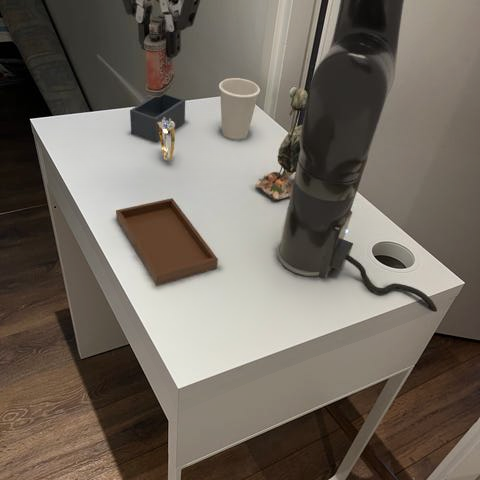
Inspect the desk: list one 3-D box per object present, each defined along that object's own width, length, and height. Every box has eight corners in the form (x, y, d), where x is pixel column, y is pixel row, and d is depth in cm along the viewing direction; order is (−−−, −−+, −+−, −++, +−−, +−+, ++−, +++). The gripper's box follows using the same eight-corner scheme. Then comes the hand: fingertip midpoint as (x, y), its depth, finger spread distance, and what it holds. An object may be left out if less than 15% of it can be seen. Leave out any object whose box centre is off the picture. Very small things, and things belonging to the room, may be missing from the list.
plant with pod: (316, 190, 97) (343, 86, 82) (270, 205, 92) (290, 96, 77) (291, 169, 101) (312, 66, 86) (245, 182, 96) (259, 75, 81)
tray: (216, 268, 79) (217, 258, 77) (156, 285, 75) (156, 275, 73) (172, 207, 88) (172, 197, 87) (116, 220, 84) (115, 210, 83)
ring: (177, 167, 97) (178, 128, 91) (161, 168, 96) (160, 129, 90) (170, 149, 101) (171, 110, 95) (155, 150, 100) (154, 111, 94)
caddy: (184, 122, 109) (185, 100, 106) (156, 143, 102) (155, 119, 99) (160, 114, 111) (160, 91, 107) (131, 133, 104) (129, 110, 100)
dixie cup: (236, 120, 113) (240, 74, 105) (261, 136, 109) (268, 90, 102) (207, 129, 108) (210, 82, 101) (233, 146, 105) (238, 99, 97)
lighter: (162, 98, 77) (161, 27, 70) (141, 94, 78) (138, 23, 70) (178, 79, 83) (178, 11, 76) (158, 75, 83) (156, 7, 76)
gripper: (92, -98, 63) (106, 47, 76) (188, -76, 60) (186, 72, 72) (128, -103, 68) (136, 34, 81) (218, -83, 65) (212, 57, 77)
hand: (160, 52), depth 77 cm, fingers closed on lighter, 4 cm apart
